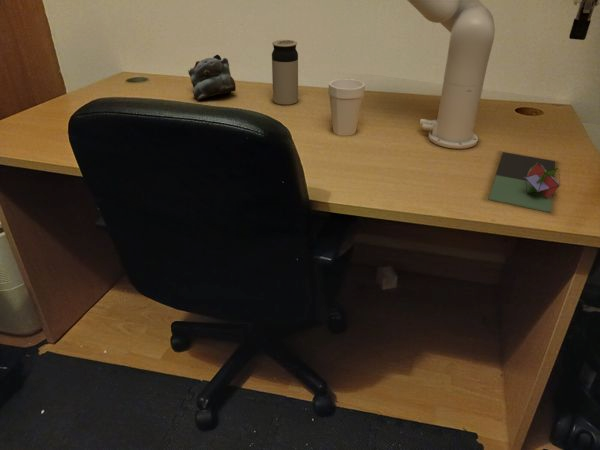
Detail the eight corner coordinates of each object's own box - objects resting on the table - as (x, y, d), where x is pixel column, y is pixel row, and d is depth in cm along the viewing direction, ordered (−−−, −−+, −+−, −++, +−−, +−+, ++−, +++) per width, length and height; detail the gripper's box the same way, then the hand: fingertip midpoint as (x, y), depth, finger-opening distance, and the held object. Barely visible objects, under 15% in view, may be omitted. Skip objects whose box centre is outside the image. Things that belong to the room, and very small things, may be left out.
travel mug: (302, 100, 154) (303, 41, 144) (289, 107, 148) (288, 46, 138) (282, 95, 157) (281, 38, 148) (268, 102, 152) (266, 43, 142)
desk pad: (488, 199, 101) (488, 198, 100) (502, 153, 120) (502, 152, 120) (550, 212, 96) (550, 211, 96) (554, 162, 116) (555, 161, 116)
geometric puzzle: (574, 192, 98) (563, 155, 98) (551, 200, 95) (540, 161, 95) (544, 198, 105) (534, 163, 105) (522, 205, 102) (512, 169, 102)
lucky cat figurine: (187, 102, 151) (176, 58, 150) (202, 105, 163) (192, 64, 161) (231, 90, 148) (220, 44, 146) (243, 94, 159) (233, 52, 158)
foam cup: (366, 128, 134) (369, 81, 127) (355, 140, 127) (358, 91, 120) (334, 122, 137) (336, 77, 130) (322, 134, 130) (323, 86, 123)
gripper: (584, -59, 104) (559, 31, 114) (585, -56, 92) (557, 43, 102) (624, -58, 101) (594, 34, 111) (630, -55, 90) (596, 47, 100)
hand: (576, 38), depth 107 cm, fingers closed
